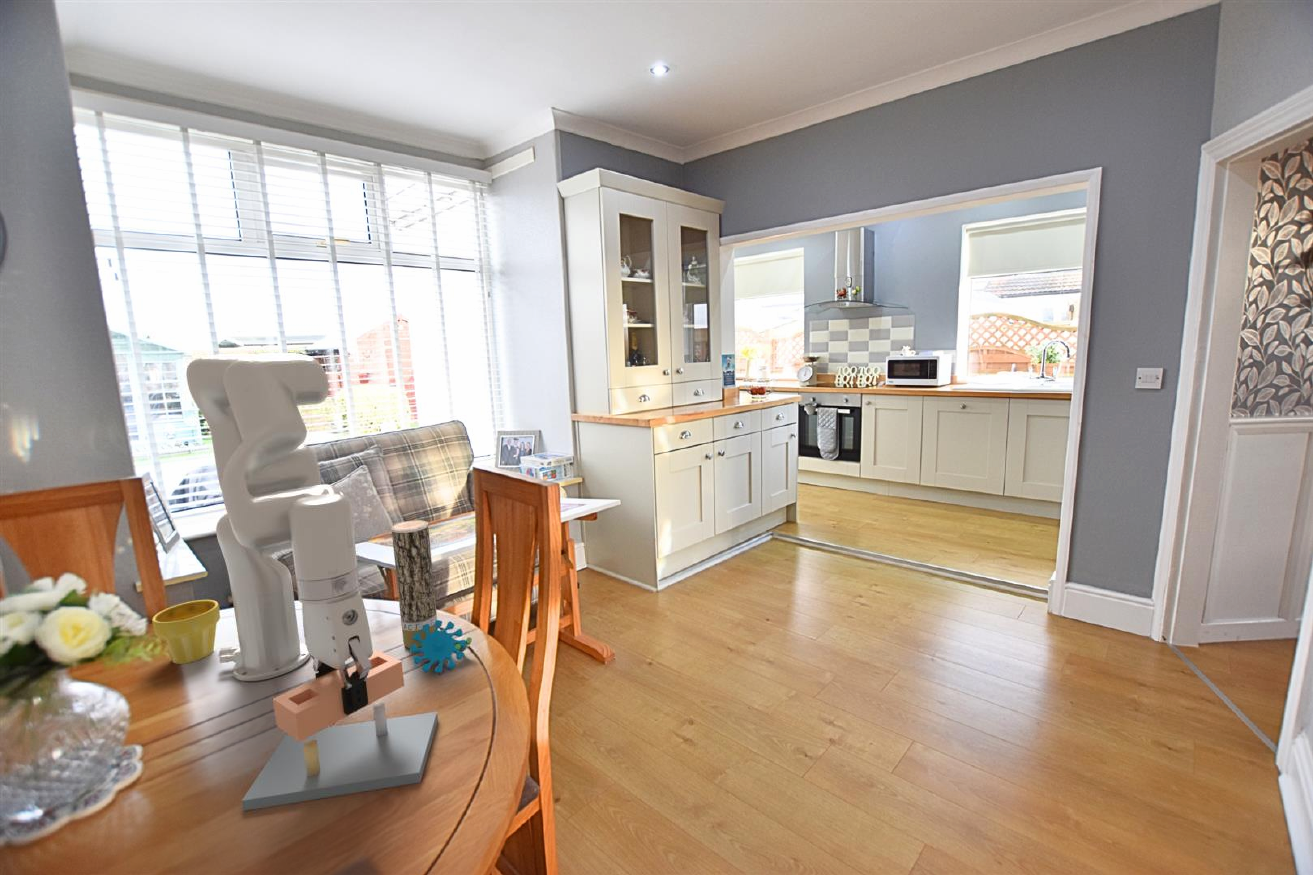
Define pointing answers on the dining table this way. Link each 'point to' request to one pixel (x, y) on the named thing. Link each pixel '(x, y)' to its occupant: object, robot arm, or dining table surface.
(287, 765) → the slate board
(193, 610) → the plant pot
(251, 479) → the robot arm
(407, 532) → the bark log
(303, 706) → the holed bar
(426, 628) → the blue virus model
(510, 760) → the dining table surface
